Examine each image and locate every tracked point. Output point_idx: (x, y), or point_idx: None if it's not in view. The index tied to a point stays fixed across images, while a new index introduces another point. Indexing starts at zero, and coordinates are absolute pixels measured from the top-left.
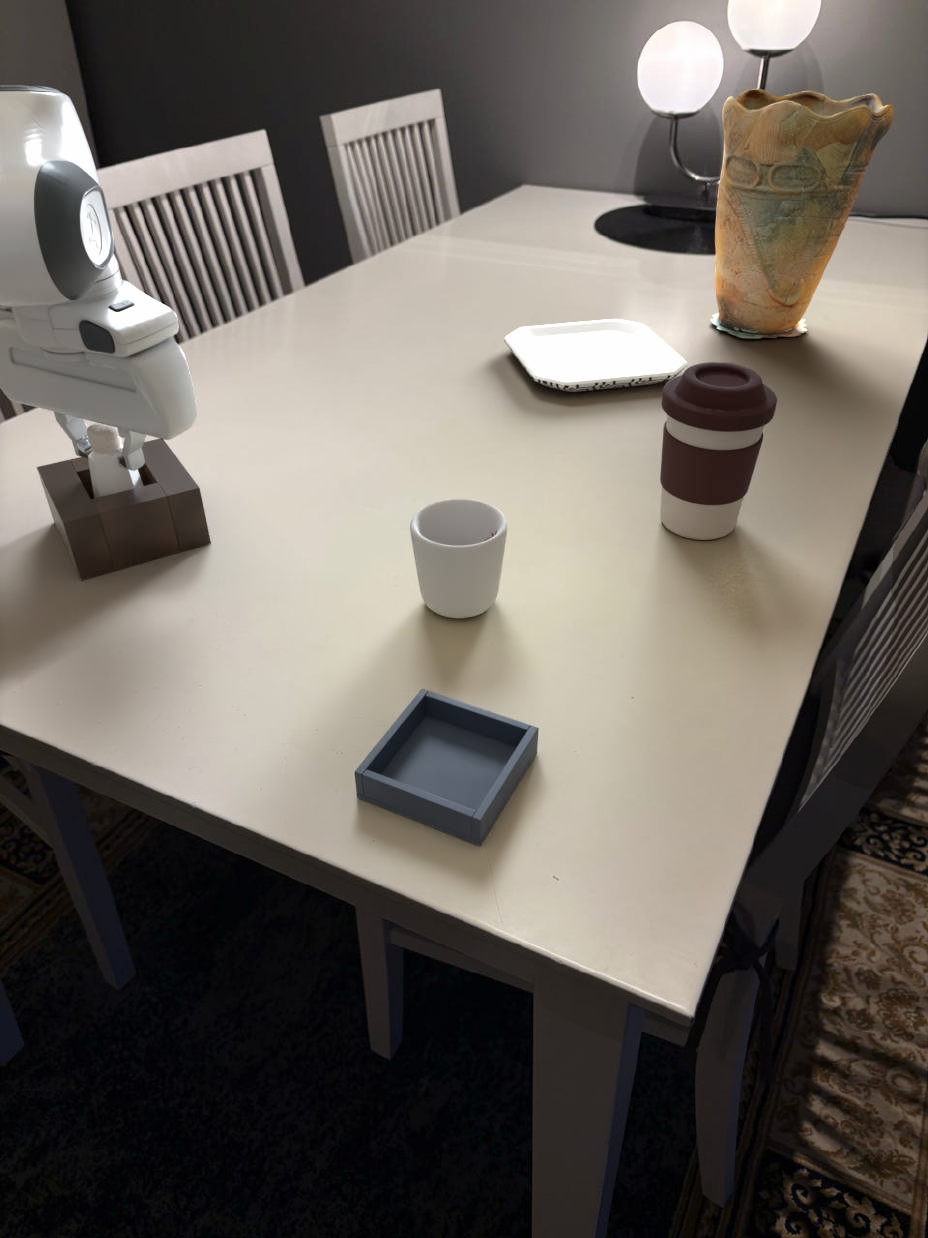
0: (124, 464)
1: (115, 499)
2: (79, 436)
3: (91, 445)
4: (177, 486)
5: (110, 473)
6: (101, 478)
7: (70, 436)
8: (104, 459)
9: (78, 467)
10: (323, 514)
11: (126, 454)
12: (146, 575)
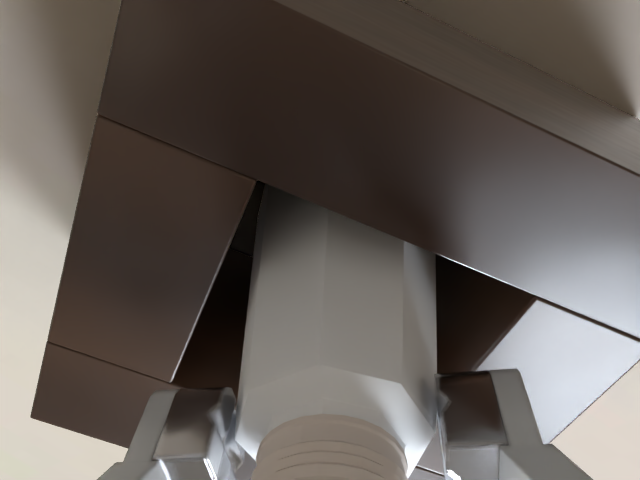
0: (179, 404)
1: (168, 234)
2: (510, 477)
3: (361, 447)
4: (88, 394)
5: (258, 339)
6: (300, 301)
7: (548, 461)
8: (273, 394)
9: (558, 323)
10: (53, 453)
11: (127, 459)
12: (92, 76)
